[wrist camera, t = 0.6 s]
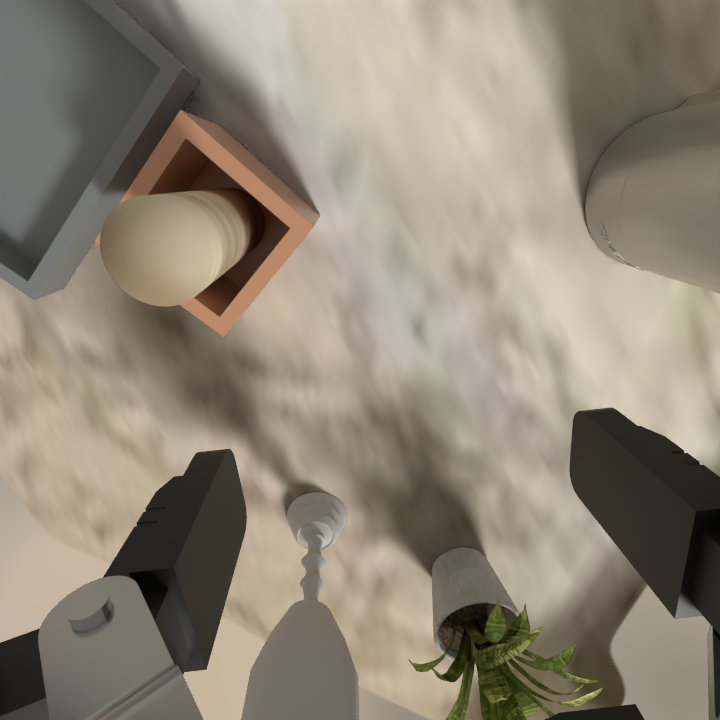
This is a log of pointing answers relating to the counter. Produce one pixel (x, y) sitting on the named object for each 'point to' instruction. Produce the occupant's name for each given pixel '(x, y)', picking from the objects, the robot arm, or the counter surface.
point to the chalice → (306, 635)
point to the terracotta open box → (226, 170)
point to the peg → (178, 241)
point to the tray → (74, 128)
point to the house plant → (487, 640)
